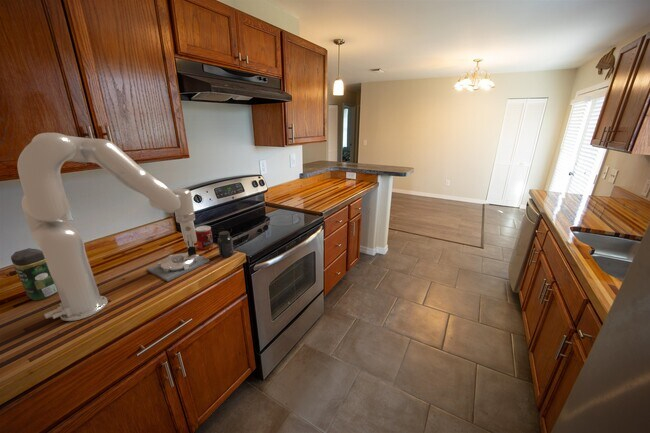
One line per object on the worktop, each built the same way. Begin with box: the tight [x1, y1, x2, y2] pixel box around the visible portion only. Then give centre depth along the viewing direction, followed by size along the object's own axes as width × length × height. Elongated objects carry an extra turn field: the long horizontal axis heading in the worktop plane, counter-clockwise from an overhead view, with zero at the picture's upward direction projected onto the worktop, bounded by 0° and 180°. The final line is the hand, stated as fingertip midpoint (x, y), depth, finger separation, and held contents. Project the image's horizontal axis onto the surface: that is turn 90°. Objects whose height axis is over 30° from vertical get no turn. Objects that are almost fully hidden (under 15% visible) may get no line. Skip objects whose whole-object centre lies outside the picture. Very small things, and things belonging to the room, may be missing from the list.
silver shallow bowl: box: [157, 249, 198, 273], centre depth 120 cm, size 15×16×6 cm
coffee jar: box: [10, 247, 58, 301], centre depth 98 cm, size 10×8×19 cm
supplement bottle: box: [217, 230, 235, 258], centre depth 130 cm, size 7×7×12 cm
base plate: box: [146, 251, 211, 282], centre depth 121 cm, size 20×17×1 cm
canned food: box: [195, 225, 214, 251], centre depth 139 cm, size 8×8×11 cm
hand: (192, 254), depth 122 cm, fingers closed
